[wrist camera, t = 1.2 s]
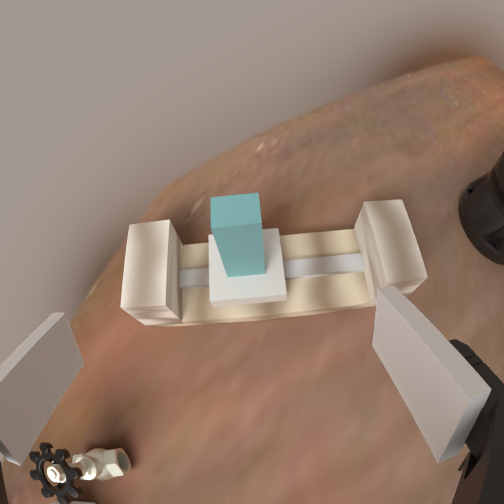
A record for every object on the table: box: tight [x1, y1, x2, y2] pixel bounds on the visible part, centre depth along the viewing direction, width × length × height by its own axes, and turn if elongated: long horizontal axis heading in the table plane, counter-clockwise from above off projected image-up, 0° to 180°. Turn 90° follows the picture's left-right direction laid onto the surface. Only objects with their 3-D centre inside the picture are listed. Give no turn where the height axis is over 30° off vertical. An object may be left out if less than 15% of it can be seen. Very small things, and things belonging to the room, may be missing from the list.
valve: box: [29, 442, 131, 504], centre depth 24 cm, size 7×7×12 cm
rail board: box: [121, 199, 428, 327], centre depth 36 cm, size 32×10×8 cm, turn 94°
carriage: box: [209, 193, 287, 307], centre depth 31 cm, size 8×8×13 cm
